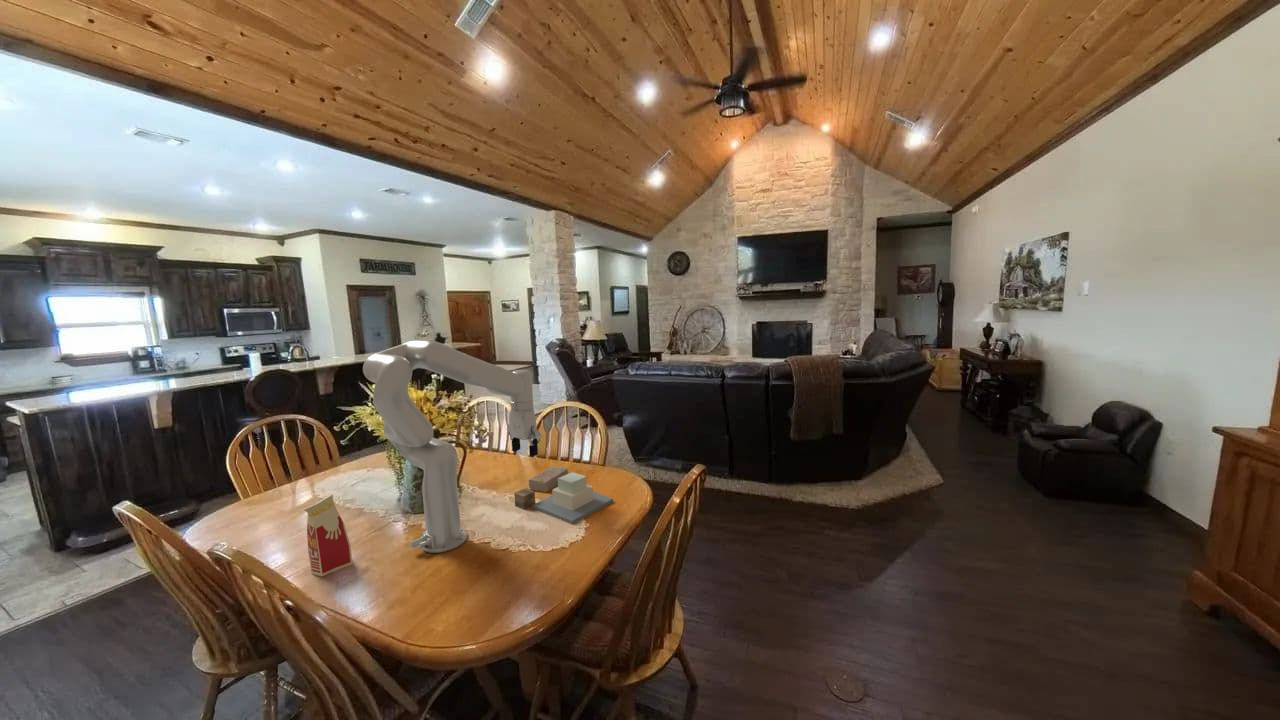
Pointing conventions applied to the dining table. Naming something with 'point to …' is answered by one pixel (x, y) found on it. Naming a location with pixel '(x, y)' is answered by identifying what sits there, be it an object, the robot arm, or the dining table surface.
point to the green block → (572, 482)
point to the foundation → (572, 504)
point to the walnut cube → (524, 498)
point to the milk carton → (327, 538)
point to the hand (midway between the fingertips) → (524, 453)
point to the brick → (547, 479)
